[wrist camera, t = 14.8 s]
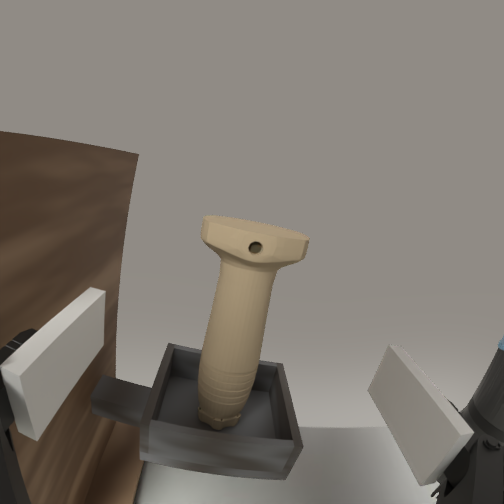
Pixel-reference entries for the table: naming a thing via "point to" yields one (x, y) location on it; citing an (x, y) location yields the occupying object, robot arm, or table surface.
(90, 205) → the bracket
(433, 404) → the robot arm
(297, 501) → the table surface
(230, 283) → the handle
